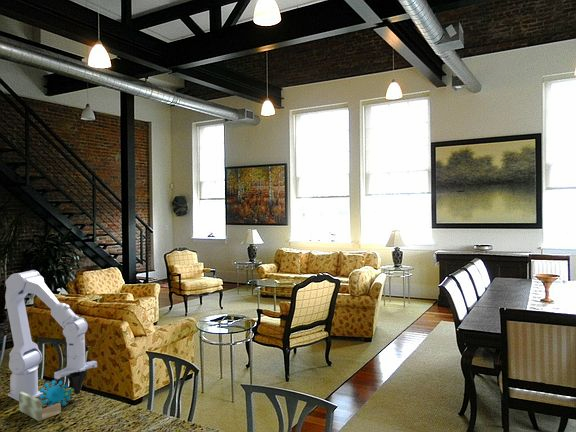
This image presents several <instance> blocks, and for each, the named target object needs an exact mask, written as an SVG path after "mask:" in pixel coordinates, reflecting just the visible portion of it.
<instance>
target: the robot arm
mask: <svg viewBox="0 0 576 432" xmlns="http://www.w3.org/2000/svg"><path fill="white" fill-rule="evenodd" d="M44 279H45V278H44V277H43V276H42V275H41V274H40V272H39V271H37V270H36V269H31V270H26V271H23V272H17V273H15V272H14V273H12V274H10V275H9V276H8V278H7V279H6V280H5V287H6V289H5V294H4V295H5V296H4V298H5V303H6V304H5V305H6V310H7V314H8V319H9V325H10V330H11V335H12V341H13V347H12V349H11V351H10V352H9V354H8V355H9V360H8V368H9V371H11V374H10V377H9V378H10V381H9V382H10V384H9V385H10V393H8V394H7V396H8V397H9V398H12V399H14V400H15V401H17V402H19V392H24V393H26V394H29V395H31V396H33V397H34V396H38V395H40V394H43V395H44V393H42V392H40V390H39V381H38V380H39V375H38V373H39V371H38V368H39V367H40V366H39V364H41V363H42V360H43V354H42V352H41V350H40V349H39V346H38V345H39V344H37V343H35V342H34V341H33V340H32V335H31V328H30V325H29V318H28V313H27V308H26V303H25V298H26V296H28V294H32V295H33V294H34V295H35V296H37V298H39V300H40V301H42V303H44V304H45V305H46V306H47V307H48V308H49V309H50V315H51V317H52V318H53V319H54V320H55V321H56V322H57V324H58V325H59V326H60V327H61V328H62V335H63V336H64V337H65V342H66V364H67V366H66V367H64V368H62V369H60V370H57V371H55V372H53V376H54V377H53V378H54V379H56V380H59V379H61V378H63V377H66V378H67V379H68V381H69V383H70V385H71V389H72V388H73V389H74V391H73V394H75V395H78V394H80V393H81V389H82V386H83V383H84V380H85V378H86V377H87V375H88V373H87V371H86V370H89V369H93V368H98V362H97V361H96V360H91V361H86V337H85V336H86V333H87V331H88V328H89V324H88V322H87V321H86V319H85V318H84V317H80V316H79V315H77V314H76V313H75V312H74V311H73V310H72V309H71V306H70V305H69V304H67V303H65V302H60V301H59V300H58V298H57V297H56V295H55V294H54V293H53V292H52V290H51V289H50V288H49V287H48V285H47V284H46V283H45V280H44Z"/></svg>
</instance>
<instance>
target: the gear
mask: <svg viewBox="0 0 576 432" xmlns="http://www.w3.org/2000/svg"><path fill="white" fill-rule="evenodd" d="M56 383H57V382H56V380H53V379H52V380H51V381H50V382H45V383H44V384H43V387H41V388H40V390H39V391H40V392H42V393H43V394H40V396H39V399H43V401H42V406H45V405H46V404H48V405H47V407H49V406H52V405H55V404H58V403H61V402H62V403H61V407H64V406H66V405H67V404H68V402H69V401H70V400H71V394H74V392H73V391H74V389H73V388H72V387H71V389H68V388H69V385H68V384H65V385H63V384H64V382H63V381H62V380H59V381H58V383H57V384H56ZM50 384H51V387H49V386H50ZM55 384H56V385H55ZM62 385H63V386H62ZM45 388H46V390H45ZM45 399H46V400H45Z"/></svg>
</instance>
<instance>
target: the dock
mask: <svg viewBox="0 0 576 432" xmlns="http://www.w3.org/2000/svg"><path fill="white" fill-rule="evenodd" d="M39 396H40V395H38V396H34V397H33V396H31V395H29V394H26V393H24V392H19V401H18V403H19V404H18V405H19V407H18V408H19V409H18V410H19V412H21V413H24V414H25V415H27V416H29V417H31V418H33V419H34V420H36V421H38V422H39V421H43V420H45V419H48V418H52V417H54V416H56V415H59V414H62V403H61V402H60V403H58V404H57V403H54V404H53V405H52V406H49V407H48V406H46V407H44V408H43V404H42V401H43V400H44V398H43V399H39Z"/></svg>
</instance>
